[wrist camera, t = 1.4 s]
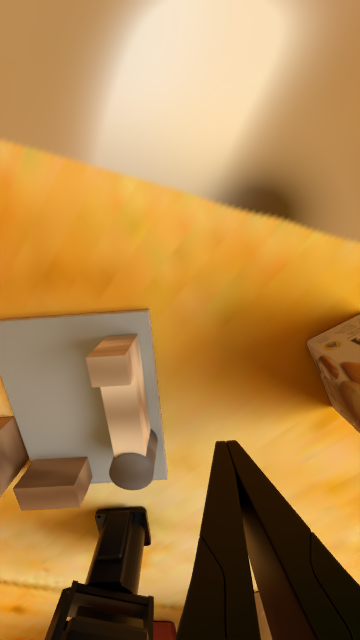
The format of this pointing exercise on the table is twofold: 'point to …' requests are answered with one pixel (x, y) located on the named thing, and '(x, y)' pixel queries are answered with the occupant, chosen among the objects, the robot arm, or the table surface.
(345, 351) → the coffee box
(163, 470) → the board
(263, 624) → the thermos bottle
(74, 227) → the table surface
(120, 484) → the leg
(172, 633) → the plant pot
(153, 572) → the table surface
